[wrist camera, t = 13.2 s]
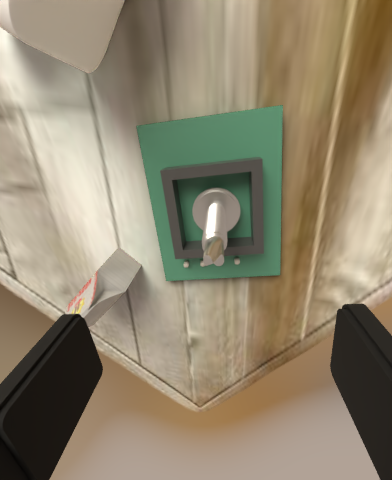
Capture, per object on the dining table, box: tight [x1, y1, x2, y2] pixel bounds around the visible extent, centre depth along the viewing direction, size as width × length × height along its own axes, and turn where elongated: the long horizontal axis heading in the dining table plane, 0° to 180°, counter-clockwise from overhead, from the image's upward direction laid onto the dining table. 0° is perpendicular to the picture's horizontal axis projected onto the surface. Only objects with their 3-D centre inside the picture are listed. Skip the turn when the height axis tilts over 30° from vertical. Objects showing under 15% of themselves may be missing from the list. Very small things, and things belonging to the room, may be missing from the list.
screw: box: [192, 187, 240, 266], centre depth 20 cm, size 13×5×5 cm
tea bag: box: [65, 247, 141, 327], centre depth 28 cm, size 4×7×10 cm, turn 138°
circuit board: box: [136, 105, 283, 281], centre depth 26 cm, size 14×18×4 cm
